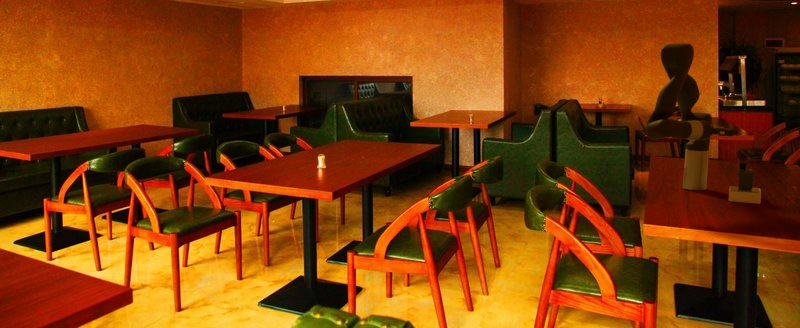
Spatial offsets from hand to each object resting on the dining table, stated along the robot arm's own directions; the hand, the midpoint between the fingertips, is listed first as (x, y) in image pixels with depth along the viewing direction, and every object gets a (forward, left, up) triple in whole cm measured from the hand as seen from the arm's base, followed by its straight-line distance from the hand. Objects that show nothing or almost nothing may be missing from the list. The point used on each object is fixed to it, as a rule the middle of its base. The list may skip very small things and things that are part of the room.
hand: (728, 130), depth 245 cm
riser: (+7, +6, -28) cm, 30 cm away
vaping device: (+7, +6, -24) cm, 26 cm away
